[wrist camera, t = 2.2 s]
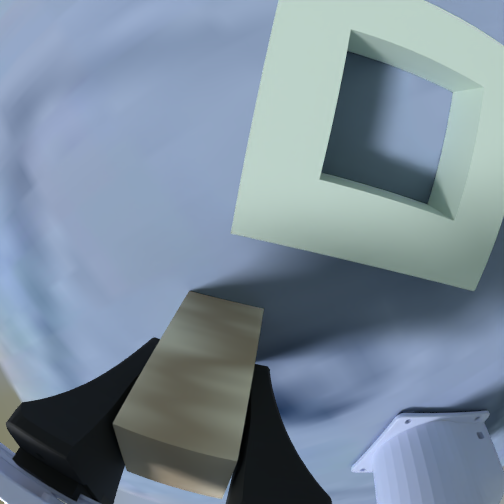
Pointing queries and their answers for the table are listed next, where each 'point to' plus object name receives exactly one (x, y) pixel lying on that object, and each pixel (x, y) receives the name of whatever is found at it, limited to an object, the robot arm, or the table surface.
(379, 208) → the socket block
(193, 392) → the peg
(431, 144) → the table surface
